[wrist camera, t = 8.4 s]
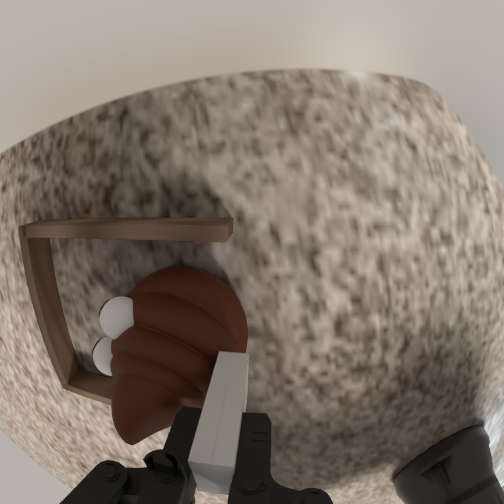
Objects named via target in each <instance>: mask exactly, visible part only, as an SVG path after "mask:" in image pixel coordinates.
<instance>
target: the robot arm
mask: <svg viewBox="0 0 504 504" xmlns="http://www.w3.org/2000/svg"><path fill="white" fill-rule="evenodd" d="M248 369H249V354H248V353H234V352H222V351H219V354H218V357H217V361H216V364H215V368H214V371H213V375H212V378H211V381H210V385H209V388H208V392H207V395H206V399H205V402H204V406H203V409H201V408H194V407H188V406H184V407H183V408H182V409H180V410H179V411H178V412H177V413H176V416H175V419H174V421H173V424H172V427H171V429H170V432H169V434H168V437H167V440H166V442H165V445H164V448H163V450H161V449H159V450H155V451H152V452H150V453H148V454H147V455H146V456H145V458H144V459H143V460H144V462H145V464H146V466H147V467H145V468H125V467H124V466H123V465H121V464H120V463H118V462H116V461H111V460H106V461H103V462H100V463H99V464H98V465H96V466H95V467H94V469H93V470H92V471H91V472H90V473H89V474H88V475H87V476H86V477H85V478H84V479H83V480H82V481H81V482H80V483H79V484H78V485H77V486H76V487H75V488H74V489H73V490H72V491H71V493H70V494H69V495H68V496H67V497H66V498H65V499H64V500H63V501H62V502H61V503H60V504H195V497H194V494H195V490H196V488H197V491H203V492H210V493H217V494H225V495H229V496H228V503H227V504H333V502H332V500H331V498H330V497H329V495H328V494H327V493H326V492H324V491H323V490H321V489H316V488H307V489H303V490H301V491H298V490H294V489H290V488H286V487H283V486H281V485H279V484H278V483H276V482H275V481H274V480H273V478H272V476H271V473H270V458H271V421H270V419H269V417H268V416H267V414H264V413H246V403H247V395H248ZM489 443H490V440H489V436H488V434H487V433H486V431H485V430H484V428H483V427H482V426H474V427H470V428H467V429H465V430H463V431H460V432H458V433H456V434H454V435H453V436H451V437H449V438H447V439H445V440H444V441H442V442H440V443H439V444H437V445H435V446H434V447H432V448H431V449H429V450H428V451H426V452H425V453H423V454H422V455H420V456H419V457H418V458H416V459H415V460H414V461H412V462H411V463H410V464H409V465H407V466H406V467H405V468H404V469H403V470H402V471H401V472H400V473H399V474H398V475H397V477H396V478H395V480H394V486H395V489H396V493H397V495H398V496H399V497H400V498H401V500H402V501H403V502H404V503H405V504H504V491H503V489H502V487H501V485H500V483H499V481H498V479H497V477H496V475H495V473H494V471H493V463H492V457H491V452H490V448H489Z"/></svg>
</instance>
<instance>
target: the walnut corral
mask: <svg viewBox="0 0 504 504" xmlns="http://www.w3.org/2000/svg"><path fill="white" fill-rule="evenodd" d="M18 229H19V238H20V245H21V252H22V258H23V264H24V269H25V274H26V279H27V284H28V288H29V292H30V296H31V300H32V304H33V308H34V311H35V315H36V318H37V322H38V325H39V328H40V331H41V334H42V337H43V340H44V343H45V346H46V349H47V351H48V354H49V357H50V359H51V362H52V364H53V367H54V369H55V371H56V374H57V376H58V378H59V381H60V383H61V385H62V387H63V389H66V390H68V391H71V392H74V393H76V394H79V395H82V396H84V397H87V398H90V399H93V400H96V401H99V402H102V403H106V404H109V405H111V403H112V394H113V383H114V379H112V378H108V377H104V376H101V375H97V374H94V373H91V372H87V371H84V370H81V368H80V366H79V363H78V360H77V357H76V354H75V351H74V348H73V345H72V342H71V339H70V336H69V332H68V329H67V325H66V322H65V318H64V314H63V311H62V307H61V302H60V298H59V294H58V289H57V284H56V279H55V274H54V268H53V262H52V256H51V249H50V241H49V238H86V239H131V240H169V241H203V242H227V240H228V239H229V237H230V236H231V234H232V233H233V219H229V218H92V219H60V220H39V221H36V222H32V223H29V224H25V225H22V226H18ZM201 409H203V407H202V408H201Z"/></svg>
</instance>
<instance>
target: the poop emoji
mask: <svg viewBox="0 0 504 504" xmlns="http://www.w3.org/2000/svg"><path fill="white" fill-rule="evenodd" d="M99 318H100V325H101V328H102V330H103V331H104V333H105V334H106V335H107V337H104V338H101V339H100V340H98V341H97V343H96V344H95V346H94V348H93V351H92V354H93V360H94V363H95V365H96V367H97V368H98V369H99V370H100V371H101V372H102V373H104V374H106V375H110V376H113V378H114V383H113V394H112V403H111V408H112V417H113V422H114V425H115V428H116V430H117V432H118V434H119V436H120V437H121V438H122V439H123V440H124V441H125V442H126V443H128V444H130V445H134V444H136V443H138V442H140V441H142V440H143V439H145V438H147V437H148V436H150V435H152V434H154V433H156V432H158V431H161V430H163V429H165V428H168V427H170V426H172V424H173V421H174V419H175V416H176V413H177V412H178V411H179V410H180V409H182V408H183V407H184V406H188V407H194V408H202V407H203V406H204V402H205V399H206V395H207V392H208V388H209V385H210V381H211V378H212V375H213V371H214V368H215V364H216V361H217V357H218V354H219V351H222V352H234V353H245V352H246V347H247V339H248V328H247V320H246V316H245V313H244V310H243V307H242V305H241V303H240V301H239V299H238V298H237V296H236V295H235V293H234V292H233V291H232V290H231V289H230V288H229V287H228V286H227V285H226V284H225V283H224V282H223V281H222V280H220V279H219V278H217V277H216V276H214V275H212V274H210V273H208V272H206V271H203V270H201V269H197V268H193V267H187V266H174V267H168V268H164V269H161V270H159V271H156V272H154V273H152V274H150V275H149V276H147V277H146V278H144V279H143V280H142V281H141V282H140V283H138V284H137V285H136V286H135V287H134V289H133V290H132V291H131V292H130V293H129V298H128V297H122V296H121V297H115V298H112V299H109V300H107V301H106V302H105V303H104V304H103V306H102V307H101V309H100V312H99Z"/></svg>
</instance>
